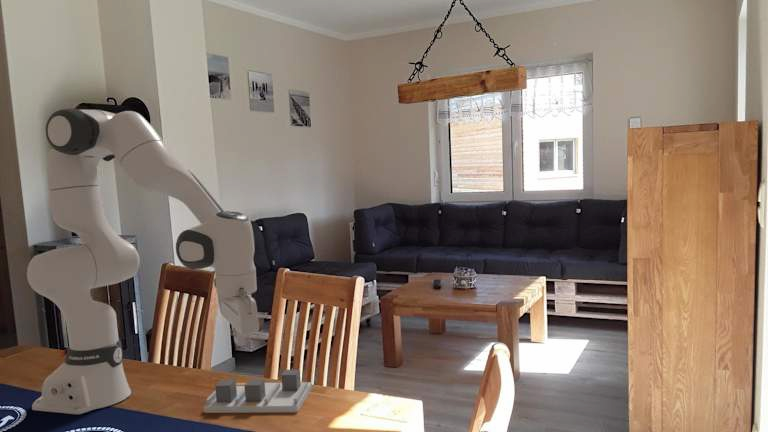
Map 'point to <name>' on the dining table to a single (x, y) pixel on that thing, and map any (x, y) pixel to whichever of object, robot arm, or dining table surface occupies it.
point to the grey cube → (291, 380)
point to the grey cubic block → (255, 390)
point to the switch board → (271, 402)
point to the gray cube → (226, 391)
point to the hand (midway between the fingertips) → (240, 344)
